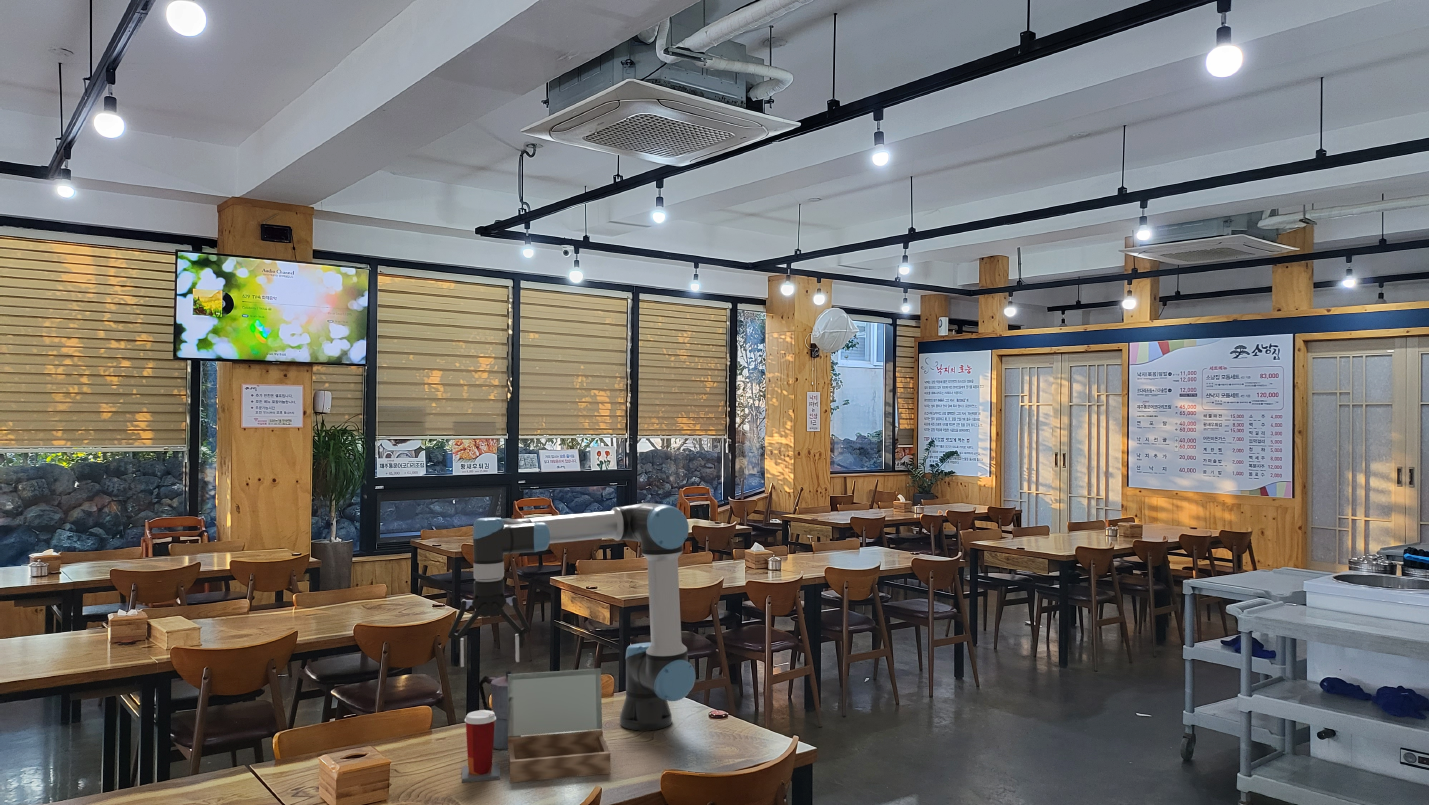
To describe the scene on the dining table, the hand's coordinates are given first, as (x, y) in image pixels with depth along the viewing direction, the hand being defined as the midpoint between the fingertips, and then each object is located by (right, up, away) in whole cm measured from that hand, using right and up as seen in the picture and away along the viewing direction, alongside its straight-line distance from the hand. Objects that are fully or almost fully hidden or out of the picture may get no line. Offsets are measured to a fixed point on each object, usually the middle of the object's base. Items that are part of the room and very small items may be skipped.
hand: (490, 663), depth 234 cm
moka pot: (-1, -27, +17) cm, 32 cm away
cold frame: (+17, -26, 0) cm, 31 cm away
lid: (+15, -13, +10) cm, 22 cm away
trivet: (-1, -26, -5) cm, 27 cm away
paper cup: (-1, -26, -5) cm, 26 cm away
